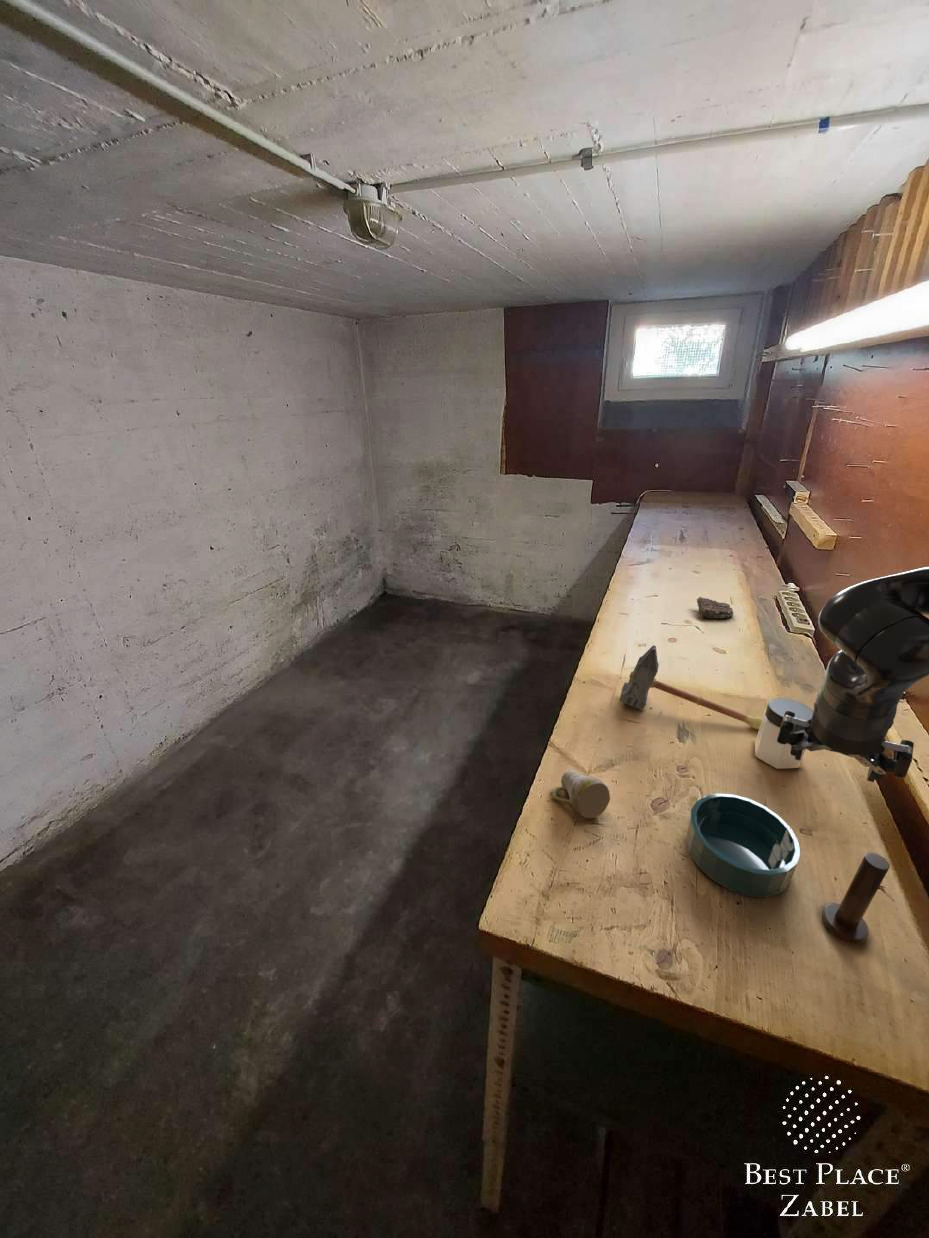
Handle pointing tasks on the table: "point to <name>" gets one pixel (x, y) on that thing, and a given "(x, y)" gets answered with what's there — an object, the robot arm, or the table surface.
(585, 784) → the mug
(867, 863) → the brown flanged rod
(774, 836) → the bowl
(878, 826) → the table surface
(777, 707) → the jar
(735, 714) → the hammer
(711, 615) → the concrete sample
